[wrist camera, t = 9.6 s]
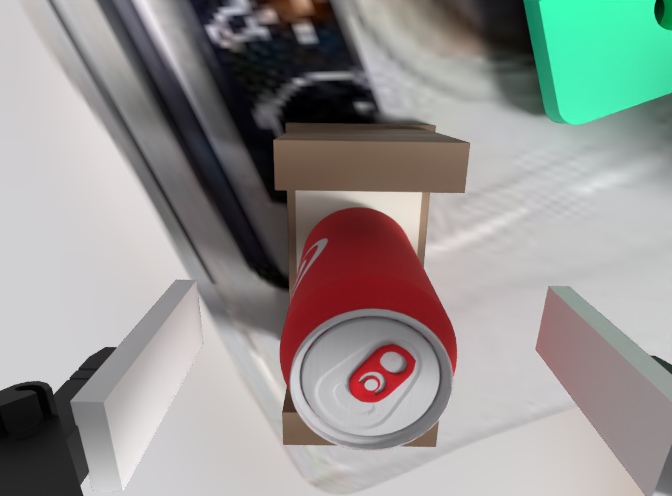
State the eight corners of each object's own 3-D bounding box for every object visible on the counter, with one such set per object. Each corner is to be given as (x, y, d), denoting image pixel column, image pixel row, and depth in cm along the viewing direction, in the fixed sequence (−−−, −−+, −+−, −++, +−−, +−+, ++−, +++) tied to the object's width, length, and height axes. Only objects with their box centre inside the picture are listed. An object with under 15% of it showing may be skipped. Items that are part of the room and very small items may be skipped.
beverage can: (281, 261, 25) (231, 394, 14) (351, 181, 23) (360, 254, 12) (362, 323, 26) (378, 493, 15) (433, 251, 25) (512, 377, 13)
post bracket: (287, 122, 24) (258, 133, 15) (431, 124, 24) (485, 137, 15) (292, 343, 28) (272, 447, 20) (413, 344, 28) (446, 450, 20)
